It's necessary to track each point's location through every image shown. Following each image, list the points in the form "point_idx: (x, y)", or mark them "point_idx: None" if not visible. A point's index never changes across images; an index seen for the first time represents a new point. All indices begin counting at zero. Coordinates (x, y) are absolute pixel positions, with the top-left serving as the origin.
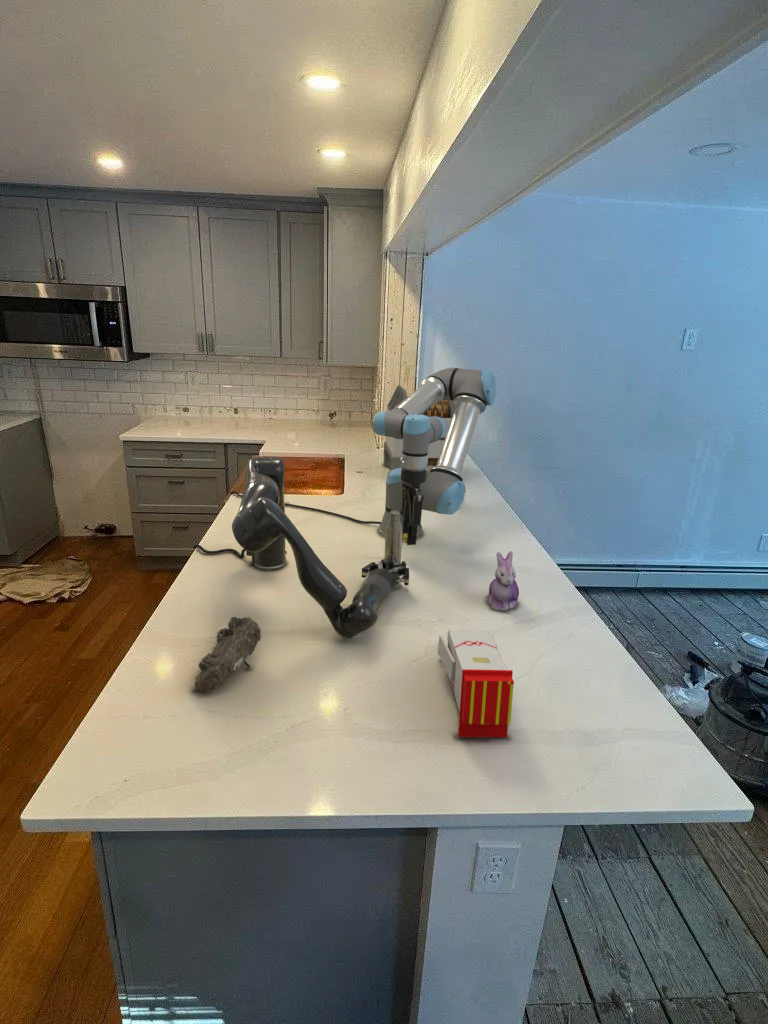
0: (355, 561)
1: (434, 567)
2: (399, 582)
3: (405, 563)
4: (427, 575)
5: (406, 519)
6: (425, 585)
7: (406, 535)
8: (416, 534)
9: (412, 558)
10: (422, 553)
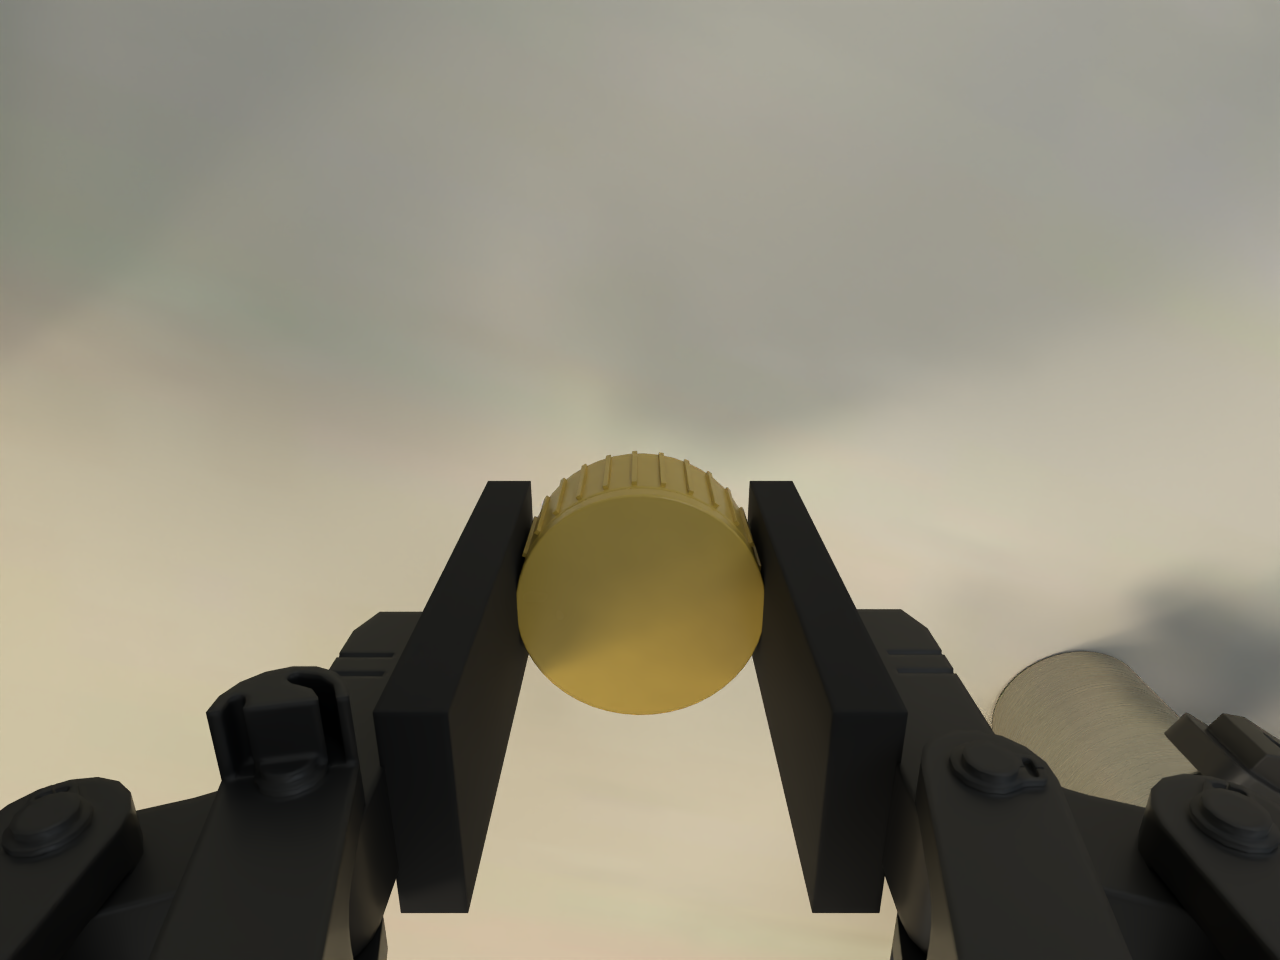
0: (507, 870)
1: (820, 131)
2: (1137, 681)
3: (1269, 764)
4: (997, 305)
5: (437, 857)
6: (1204, 411)
7: (648, 665)
8: (838, 574)
9: (508, 327)
10: (364, 137)
